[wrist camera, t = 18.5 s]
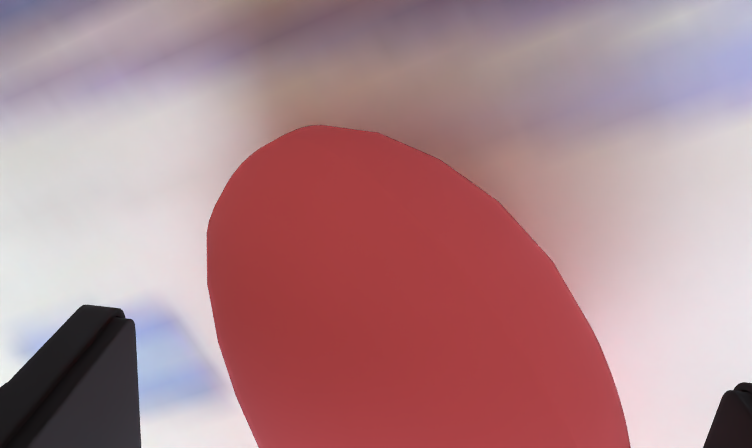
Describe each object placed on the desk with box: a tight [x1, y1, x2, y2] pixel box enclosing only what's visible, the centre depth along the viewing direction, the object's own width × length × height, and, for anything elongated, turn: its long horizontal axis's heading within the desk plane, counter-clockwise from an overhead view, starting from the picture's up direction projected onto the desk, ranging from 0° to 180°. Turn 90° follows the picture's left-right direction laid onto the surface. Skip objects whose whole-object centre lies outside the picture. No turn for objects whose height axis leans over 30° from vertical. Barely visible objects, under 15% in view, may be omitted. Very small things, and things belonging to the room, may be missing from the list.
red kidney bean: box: [207, 125, 631, 448], centre depth 10 cm, size 5×9×6 cm, turn 10°
